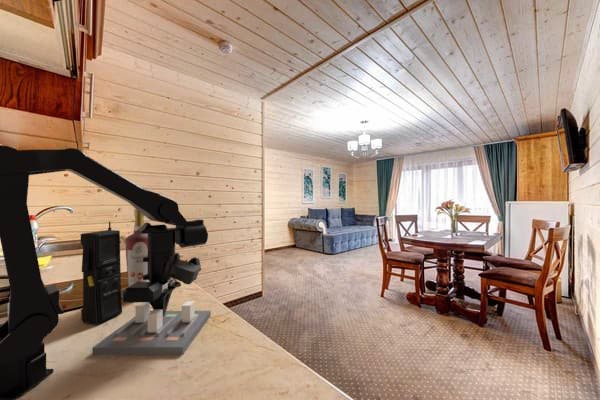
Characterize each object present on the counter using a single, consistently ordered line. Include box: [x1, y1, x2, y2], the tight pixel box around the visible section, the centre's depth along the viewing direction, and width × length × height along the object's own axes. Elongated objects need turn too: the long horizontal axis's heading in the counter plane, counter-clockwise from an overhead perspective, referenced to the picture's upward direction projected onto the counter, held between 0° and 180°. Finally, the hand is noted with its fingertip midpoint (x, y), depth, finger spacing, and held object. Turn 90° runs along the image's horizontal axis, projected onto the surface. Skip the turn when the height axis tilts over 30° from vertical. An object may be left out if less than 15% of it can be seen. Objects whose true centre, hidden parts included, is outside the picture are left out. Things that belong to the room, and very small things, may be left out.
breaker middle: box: [148, 309, 163, 332], centre depth 55 cm, size 2×2×4 cm
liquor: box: [124, 208, 150, 287], centre depth 78 cm, size 7×7×28 cm
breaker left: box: [134, 302, 151, 323], centre depth 60 cm, size 2×2×4 cm
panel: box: [91, 310, 212, 356], centre depth 57 cm, size 18×16×2 cm
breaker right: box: [181, 300, 195, 322], centre depth 60 cm, size 2×2×4 cm
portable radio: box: [80, 220, 123, 325], centre depth 64 cm, size 8×6×25 cm
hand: (161, 316), depth 58 cm, fingers closed
